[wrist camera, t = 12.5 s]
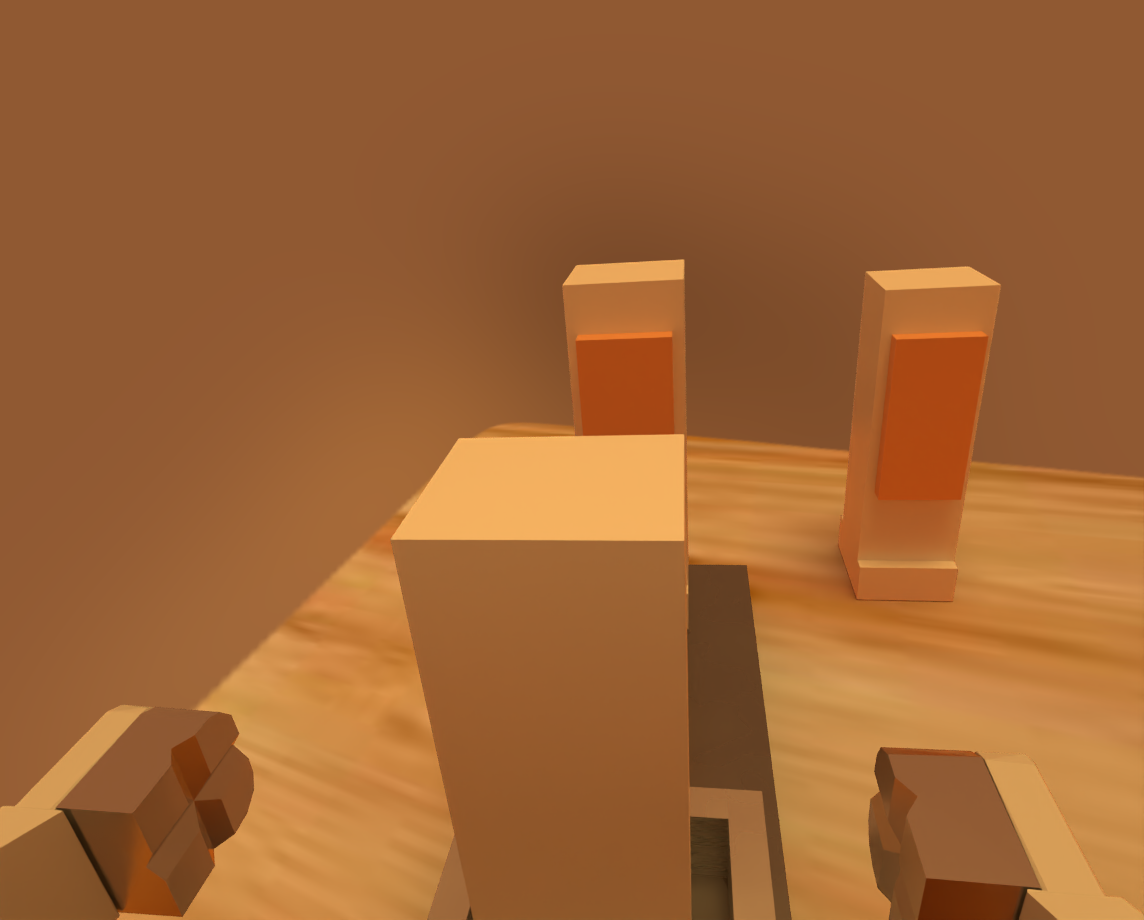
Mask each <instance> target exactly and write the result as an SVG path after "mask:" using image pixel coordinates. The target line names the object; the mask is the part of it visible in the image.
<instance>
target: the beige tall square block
mask: <svg viewBox="0 0 1144 920" xmlns="http://www.w3.org/2000/svg"><path fill="white" fill-rule="evenodd" d="M390 540H391V544H392V549H393V554H394V558H395V563H396V567H397V572H398V577H399V581H400V586H401V590H402V595H403V600H404V604H405V609H406V613H407V618H408V623H409V627H410V632H411V636H412V641H413V645H414V650H415V655H416V659H417V664H418V668H419V673H420V678H421V682H422V687H423V691H424V696H425V701H426V705H427V710H428V714H429V719H430V724H431V728H432V733H433V737H434V742H435V747H436V751H437V756H438V760H439V765H440V769H441V774H442V779H443V783H444V788H445V792H446V797H447V802H448V806H449V811H450V815H451V820H452V825H453V829H454V834H455V838H456V843H457V848H458V852H459V857H460V861H461V866H462V871H463V875H464V880H465V884H466V889H467V893H468V898H469V903H470V907H471V912H472V916H473V920H692V906H691V849H690V784H689V719H688V655H687V590H686V525H685V460H684V434H670V435H615V436H561V437H507V438H459V439H458V441H457V442H456V443H455V445H454V446H453V448H452V449H451V451H450V452H449V454H448V455H447V457H446V458H445V460H444V461H443V463H442V464H441V466H440V467H439V469H438V470H437V472H436V473H435V474H434V476H433V477H432V479H431V480H430V482H429V483H428V485H427V486H426V488H425V489H424V491H423V492H422V494H421V495H420V497H419V498H418V500H417V501H416V503H415V504H414V505H413V507H412V508H411V510H410V511H409V513H408V514H407V516H406V517H405V519H404V520H403V522H402V523H401V525H400V526H399V528H398V529H397V531H396V532H395V534H394V535H393V536H392V538H391V539H390Z"/></svg>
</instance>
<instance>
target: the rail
mask: <svg viewBox="0 0 1144 920" xmlns="http://www.w3.org/2000/svg"><path fill="white" fill-rule="evenodd" d="M687 655H688V719H689V784H690V849H691V906H692V920H791V912H790V904H789V896H788V889H787V881H786V873H785V865H784V857H783V849H782V841H781V833H780V825H779V818H778V810H777V802H776V794H775V786H774V778H773V770H772V762H771V755H770V747H769V739H768V731H767V723H766V715H765V707H764V699H763V691H762V684H761V676H760V668H759V660H758V652H757V644H756V636H755V628H754V620H753V613H752V605H751V597H750V589H749V581H748V573H747V565H688V629H687ZM427 920H473V916H472V912H471V907H470V903H469V898H468V893H467V889H466V884H465V880H464V875H463V871H462V866H461V861H460V857H459V852H458V848H457V843H456V838H455V835H454V838H453V841H452V844H451V847H450V851H449V854H448V857H447V860H446V863H445V866H444V869H443V872H442V876H441V879H440V882H439V885H438V888H437V891H436V894H435V897H434V900H433V904H432V907H431V910H430V913H429V916H428V919H427Z"/></svg>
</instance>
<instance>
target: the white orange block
mask: <svg viewBox="0 0 1144 920" xmlns="http://www.w3.org/2000/svg"><path fill="white" fill-rule="evenodd" d="M1000 288H1001V285H1000V284H999V283H997V282H995V281H993V280H992V279H990V278H988V277H986V276H985V275H983V274H981V273H979V272H978V271H976V270H974V269H972V268H971V267H952V268H951V267H950V268H932V269H910V270H890V271H870V272H866V273H865V284H864V295H863V307H862V317H861V329H860V339H859V350H858V361H857V372H856V383H855V395H854V405H853V416H852V427H851V439H850V449H849V460H848V471H847V482H846V493H845V504H844V515H841V518H840V529H839V541H838V546H839V549H840V552H841V555H842V557H843V560H844V563H845V566H846V569H847V572H848V575H849V578H850V581H851V584H852V587H853V590H854V593H855V596H856V598H857V600H906V601H953V596H954V590H955V585H956V579H957V573H958V567H957V566H956V564H955V562H954V558H955V552H956V546H957V541H958V535H959V529H960V523H961V517H962V511H963V505H964V500H965V494H966V488H967V482H968V476H969V470H970V464H971V459H972V453H973V447H974V441H975V435H976V429H977V422H978V418H979V411H980V406H981V400H982V394H983V387H984V382H985V377H986V371H987V365H988V359H989V353H990V347H991V341H992V336H993V330H994V324H995V318H996V312H997V306H998V300H999V294H1000Z"/></svg>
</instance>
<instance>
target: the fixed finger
mask: <svg viewBox="0 0 1144 920" xmlns="http://www.w3.org/2000/svg"><path fill="white" fill-rule="evenodd" d="M563 297H564V308H565V319H566V320H565V321H566V333H567V344H568V356H569V368H570V379H571V390H572V403H573V415H574V427H575V436H615V435H670V434H684V460H685V525H686V590H687V629H688V501H687V432H686V431H687V429H686V360H685V358H686V357H685V287H684V260H667V261H650V262H649V261H648V262H631V263H611V264H593V265H576V267H575V268H574V270H573V271H572V273H571V274H570V275H569V277H568V278H567V280H566V281H565V283H564V284H563Z"/></svg>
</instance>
